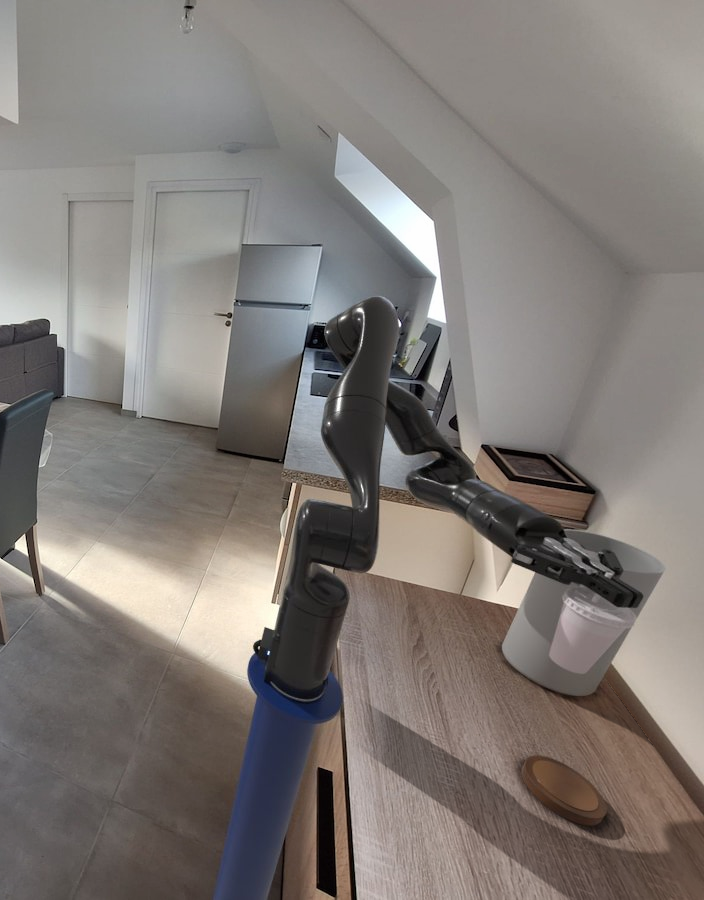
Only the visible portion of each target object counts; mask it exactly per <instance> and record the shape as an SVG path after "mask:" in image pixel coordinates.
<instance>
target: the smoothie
mask: <svg viewBox="0 0 704 900" xmlns="http://www.w3.org/2000/svg"><path fill="white" fill-rule="evenodd" d="M612 575H613V574H611V573H608V572H606V574H605V576H606V577H608V578H609V579H611V577H612ZM562 599H563V601H564V604H563V607H562V610H561V614H560V618H559V621H558V625H557V628H556V632H555V635H554V639H553V642H552V646H551V649H550V653H549V656H550V658H551V659H552V660H553V661H554V662H555V663H556V664H557V665H559V666H561V667H562V668H564V669H566V670H569V671H571V672H574V673H579V674H584V673H586V672H587V671H588V670H589V669H590V668H591V667H592V666H593V665H594V663H595V662H596V661H597V660H598V659H599V658H600V657H601V656H602V655H603V653H604V652H605V651H606V650H607V649H608V648H609V647H610V646H611V645H612V643H613V642H614V641H615V640H616V639H617V638H618V637H619V636H620V635H621V634H622V632H623V631H624V630H625V629H626V628H631V627H632V628H633V627H634V625H635V623H636V621H637V619H636V615H635V614H634V612H633V611H631V610H630V609H629V608H627V607H626V608H622V607H616V606H615V605H613V604H612V603H610V602H609V601H607V600H606V599H604V598H603V597H601V596H600V595H598V594H597V593H595V592H594V591H591V590H587V589H582V588H569V589H567V590H566V591H565V593H564V594H563V596H562ZM634 622H635V623H634ZM632 628H631V629H632Z"/></svg>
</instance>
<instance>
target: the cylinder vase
mask: <svg viewBox="0 0 704 900" xmlns="http://www.w3.org/2000/svg"><path fill="white" fill-rule="evenodd" d="M563 529H564V532H565V535H566V537H567V538H569V539H572V540H574V541H575V542H577V543H580V544H582V545H583V546H584V547H585V548H586V550H589V551H592V552H596V553H599V552H601V551H602V549H606V550H610V551H612V552H614V553H615V555H616V556H617V558H618V560H619V562H620V564H621V566H622V568H623V570H624V571H623V573H622V575H621V577H620V580H622V581H623V582H625V583H626V584H628V585H630V586H631V587H633V588H635V589H636V590H638V591H640V592H641V593H642V594H643V599H642V601H641V602H640V604H639V606H638V607H637V608H629V609H630V610H631V611H633V612H634V614H635V615H636V620H637V619H638V617H639V616H640V614H641V612H642V610H643V609H644V607H645V605H646V604H647V602H648V600H649V598H650V597H651V595H652V594H653V591H654V590H655V588H656V587H657V585H658V583H659V581H660V579H661V578H662V576H663V574H664V573H665V571H666V566H665V564H664V563H663V562H662V561H661V560H660V559H658V558H657V557H655V556H654V555H652V554H651V553H649V552H647V551H645V550H643V549H641V548H639V547H637V546H634V545H632V544H630V543H627V542H624V541H622V540H619V539H616V538H613V537H610V536H607V535H603V534H599V533H595V532H591V531H585V530H579V529H571V528H570V529H568V528H563ZM596 571H597V570H596ZM597 574H598V572H597ZM597 574H596V575H597ZM569 588H582V587H579V586H578V585H576V584H575V583H573V582H571V583H570V585H566V584H563V583H560V582H558V581H555V580H553V579H550V578H548V577H545V576H543V575H541V574H538V573H536V572H534V574H533V576H532V579H531V581H530V583H529V585H528V587H527V589H526V592H525V594H524V596H523V598H522V600H521V603H520V605H519V607H518V608H517V611H516V613H515V615H514V618H513V620H512V622H511V624H510V627H509V629H508V631H507V633H506V635H505V637H504V639H503V642H502V644H501V651H502V654H503V657H504V658H505V659H506V661H507V662H508V663H509V664H510V665H511V666H512V667H513V668H514V669H515V670H516V671H518V672H519V673H520V674H521V675H523V676H524V677H525V678H527V679H529V680H530V681H532V682H534V683H536V684H537V685H539V686H542V687H543V688H546V689H549V690H551V691H554V692H556V693H560V694H563V695H566V696H574V697H585V696H586V697H587V696H589V695H592V694H593V693H595V691H596V690H597V688H598V687H599V685H600V683H601V681H602V679H603V678H604V676H605V674H606V673H607V671H608V669H609V668H610V666H611V664H612V662H613V660H614V659H615V657H616V655H617V654H618V652H619V650H620V648H621V647H622V645H623V644H624V642H625V640H626V638H627V637H628V635H629V633H630V631H631V630H632V628H633V627H631V628H626V629H625V630H624V631H623V632H622V634H621V635H620V636H619V637H618V638H617V639H616V640H615V641H614V642H613V643H612V645H611V646H610V647H609V648H608V649H607V650H606V651H605V652H604V653H603V655H602V656H601V657H600V658H599V659H598V660H597V661H596V662H595V663H594V665H593V666H592V667H591V668H590V669H589V670H588V671H587V672H586V673H584V674H579V673H574V672H571V671H569V670H566V669H564V668H562V667H561V666H559V665H557V664H556V663H555V662H554V661H553V660H552V659H551V658H550V656H549V653H550V649H551V646H552V642H553V639H554V635H555V632H556V628H557V625H558V621H559V618H560V614H561V610H562V607H563V604H564V601H563V599H562V596H563V594H564V593H565V591H566V590H567V589H569ZM582 589H585V588H582ZM587 590H591V589H587ZM591 591H592V590H591ZM635 623H636V621H635V622H634V624H635Z"/></svg>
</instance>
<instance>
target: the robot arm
mask: <svg viewBox="0 0 704 900" xmlns="http://www.w3.org/2000/svg"><path fill="white" fill-rule="evenodd" d="M399 323H400V322H399V317H398V312H397V310H396V307H395V306H394V304H393V303H392V302H391V301H390V300H389V299H388V298H386V297H384V296H381V295H374V296H370V297H369V296H368V297H367V298H364V299H362V300H360V301H358V302H357V303H354V304H353V305H352V306H350V307H348V308H347V309H345V310H342V311H341V312H340V313H338V314H337V315H335V316H333V317H331V318H330V319H329V320H328V321H327V322H326V324H325V326H324V338H325V341H326V343H327V346H328V347H329V349H330V351H331V353H332V355H333V356H334V357H335V359H336V360H337V361H338V362H339V364H340V365H341V366H342V368H343V369H344V370H343V372H342V373H341V375H340V376H339V377H338V379H337V380H336V382H335V384H334V385H333V386H332V388H331V389H330V390H329V393H328V395H327V396H326V397H327V398H326V400H325V403H324V408H323V413H322V419H321V427H320V436H321V439H322V442H323V445H324V447H325V449H326V450H327V452H328V454H329V456H330V457H331V459H332V460H333V462H334V464H335V465H336V467H337V468H338V470H339V471H340V473H341V475H342V476H343V479H344V480H345V483H346V486H347V489H348V491H349V495H350V501H351V502H350V503H351V506H350V505H344V504H339V503H335V502H330V501H325V500H319V499H314V498H310V499H309V498H307V499H306V500H305V501H304V502H303V503H302V504H301V505H300V507H299V509H298V511H297V516H296V519H295V524H294V529H293V530H294V531H293V538H292V545H291V552H290V558H289V562H288V568H287V570H286V571H287V572H286V575H285V580H284V584H283V587H282V588H283V589H282V593H281V597H280V604H279V608H278V611H277V616H276V619H275V624H274V625H275V626H274V629H272V628H269V627H266V626H264V628H263V632H262V636H261V639H257V640H256V641H255V642H254V643H253V644H252V649H253V652H254V653H256V655H257V656H258V658H260V659H262V660H265V661H267V663H266V667H265V674H264V679H263V681H264V682H265V683H268V684H270V685H271V686H272V688H273V689H274V690H275V691H276V692H278V693H279V694H280V695H282V696H283V697H285V698H287V699H289V700H292V701H294V702H298V703H314V702H316V701H318V700H320V699H321V697H322V696H323V694H324V690H325V685H326V681H327V685H328V675H329V670H330V671H331V666H332V664H333V659H334V656H335V653H336V650H337V649H336V648H337V645H338V642H339V638H340V635H341V631H342V628H343V625H344V621H345V617H346V614H347V610H348V607H349V604H350V599H351V595H350V590H349V587H348V586H347V584H346V582H344V580H342V579H341V578H340V577H339V576H338V575H337V574H335V573H333V572H331V571H330V570H328V569H327V568H326V567H330V568H333V569H338V570H339V569H340V570H342V571H345V572H346V571H347V572H350V573H356V574H366V573H368V572H369V571H370V570H371V569H372V568H373V566H374V565H375V561H376V559H377V555H378V550H379V541H380V482H381V481H380V479H381V478H380V477H381V465H382V464H381V463H382V457H383V456H382V455H383V448H384V441H385V434H386V433H385V432H386V428H387V431H388V432H389V434H390V437H391V438H392V439H393V441H394V444H395V445H396V447H397V448H398V450H399V451H400V453H401V454H402V455H404V456H408V457H413V456H414V457H415V456H419V455H423V454H427V453H431V454H433V455H434V456H435V459H432V460H431V461H428V462H426V463H424V464H421V465H419V466H416V467H414V468H412V469H411V470H410V471H409V472H408V473H407V475H406V477H405V487H406V489H407V491H408V493H409V494H411V496H412V497H413V498H414V499H416V500H417V501H419V503H422V504H424V505H426V506H429V507H431V508H434V509H436V510H440V511H442V512H446V513H449V514H452V515H455V516H457V517H458V518H460V519H461V520H462V521H463V522H465V523H466V524H468V525H469V526H471V528H473V529H474V530H475V531H476V532H477V534H479V535H481V536H482V537H483V538H485V540H487V541H489V542H490V543H491V544H492V545H494V546H495V547H497V548H498V549H499V550H501V551H503V552H504V553H505V554H507V555H508V556H510V557H511V560H510V562H511V563H512V564H514V565H516V566H518V567H521V568H523V569H526V570H529V571H531V572H533V573H535V572H536V573H538V574H541V575H543V576H545V577H548V578H550V579H553V580H555V581H558V582H560V583H563V584H566V585H570V583H571V582H573V583H575V584H576V585H578V586H579V587H582V588H585V589H591V590H592V591H594V592H595V593H597V594H598V595H600V596H601V597H603V598H604V599H606V600H607V601H609V602H610V603H612V604H613V605H615V606H616V607H622V608H626V607H627V608H637V607H638V606H639V604H640V602H641V601H642V599H643V594H642V593H641V592H640V591H638V590H636V589H635V588H633V587H631V586H630V585H628V584H626V583H625V582H623V581H622V580H620V577H621V575H622V573H623V571H624V570H623V568H622V566H621V564H620V562H619V560H618V558H617V556H616V555H615V553H614V552H612V551H610V550H606V549H602V551H601V552H599V553H596V552H592V551H589V550H586V548H585V547H584V546H583V545H582V544H580V543H577V542H575V541H574V540H572V539H569V538H567V537H566V535H565V532H564V529H565V528H564V527H563V525H562V523H561V522H559V520H557V519H555V518H553V517H552V516H550V515H548V514H546V513H545V512H543V511H541V510H539V509H538V508H536V507H534V506H532V505H530V504H529V503H527V502H525V501H524V500H522V499H520V498H518V497H515V496H513V495H510V494H508V493H506V492H504V491H502V490H500V489H499V488H497V487H495V486H493V485H492V484H490V483H488V482H486V481H484V480H481V479H478V478H477V475H476V474H477V473H476V470H475V468H474V466H473V464H471V463H470V462H469V461H468V460H467V459H466V458H465V457H464V456H463V454H461V453H460V452H459V451H458V450H457V449H455V447H454V446H453V445H452V444H451V443H450V442H449V441H448V440H447V439H446V438H445V436H443V434H442V433H441V432H440V429H439V428H438V426H437V424H436V422H435V420H434V419H433V417H432V415H431V414H430V411H429V410H428V408H427V406H426V405H425V404H424V403H423V401H422V400H421V399H420V398H419V397H417V396H416V394H414V393H412V392H411V391H409V390H408V389H406V388H404V387H403V386H401V385H399V384H397V383H396V382H394V381H392V380H391V379H390V376H391V369H392V363H393V360H394V355H395V351H396V346H397V342H398V337H399V330H400V328H399V327H400V325H399ZM324 566H326V567H324ZM596 570H597V571H596ZM597 572H598V574H597ZM606 572H608V573H611V574H613V575H612V577H611V579H609V578H608V577H606V576H605V574H606ZM596 574H597V575H596ZM326 688H327V686H326Z"/></svg>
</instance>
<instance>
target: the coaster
mask: <svg viewBox="0 0 704 900" xmlns="http://www.w3.org/2000/svg"><path fill="white" fill-rule="evenodd" d="M520 773H521V778H522V780H523V782H524V784H525V786H526V787H527V788H528V790H529V791H530V792H531V793H532V795H533V796H534V797H535V798H536V799H537V800H539V801H540V803H542V804H543V805H544V806H545V807H547V808H548V809H550V810H551V811H552V812H554V813H555V814H557V815H558V816H560V817H562V818H564V819H566V820H568V821H570V822H572V823H575V824H579V825H581V826H582V825H583V826H588V827H591V826H597V825H599V824H600V823H601V822H602V820H603V819H604V817H605V816H606V815H607V812H608V806H607V803H606V801H605V799H604V797H603V795H602V794H601V792H600V791H599V790H598V789H597V787H595V785H594V784H593V783H592V782H591V781H589V779H587V778H586V777H585V776H583V775H582V774H581V773H580V772H578V771H577V770H575V769H574V768H572V767H570V766H569V765H567V764H565V763H563V762H561V761H559V760H557V759H555V758H552V757H549V756H544V755H531V756H528V757H527V758H526V759H525V761H524V763H523V764H522V767H521V769H520Z"/></svg>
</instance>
